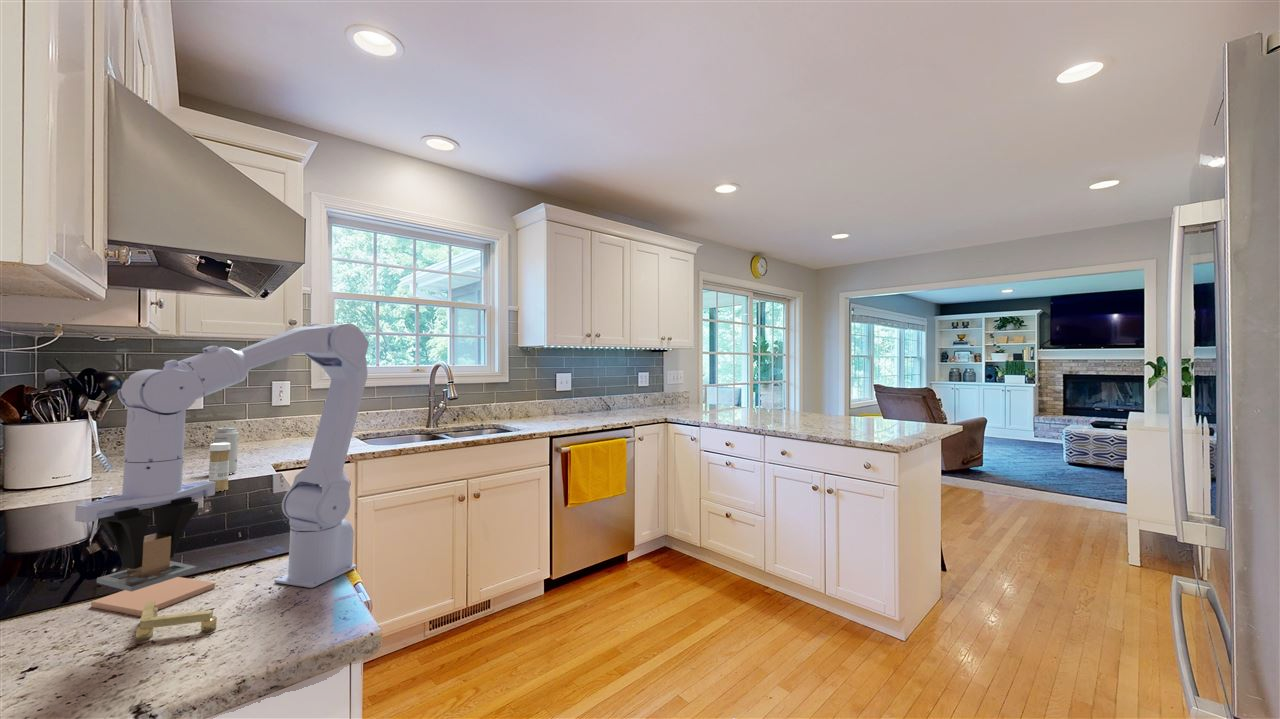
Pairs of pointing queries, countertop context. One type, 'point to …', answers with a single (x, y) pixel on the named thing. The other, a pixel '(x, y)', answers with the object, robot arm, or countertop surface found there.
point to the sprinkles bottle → (219, 465)
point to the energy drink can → (230, 437)
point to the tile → (153, 595)
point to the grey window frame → (149, 566)
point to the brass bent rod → (171, 621)
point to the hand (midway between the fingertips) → (148, 562)
